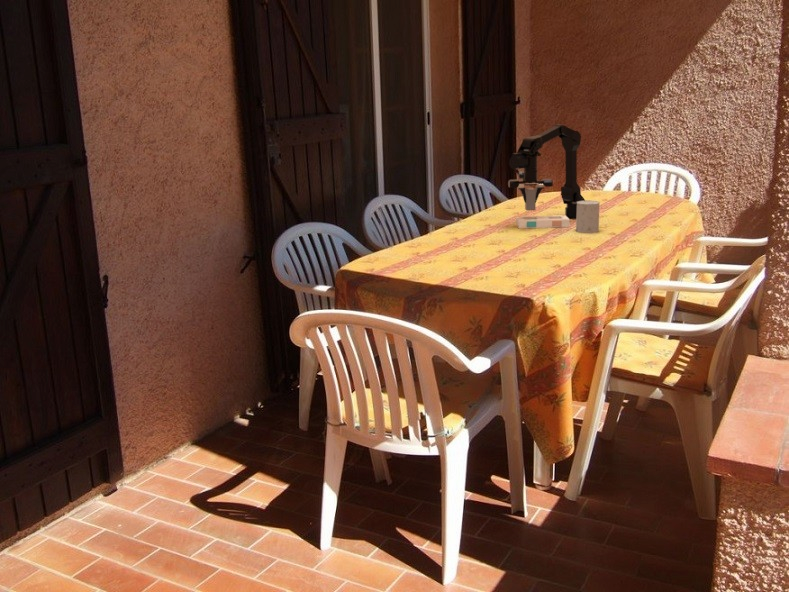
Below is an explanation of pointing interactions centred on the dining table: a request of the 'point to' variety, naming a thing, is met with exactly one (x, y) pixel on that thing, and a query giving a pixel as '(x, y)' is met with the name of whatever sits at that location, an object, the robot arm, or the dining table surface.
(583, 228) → the stone cylinder
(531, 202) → the plug
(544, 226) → the socket strip
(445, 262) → the dining table surface
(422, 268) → the dining table surface
